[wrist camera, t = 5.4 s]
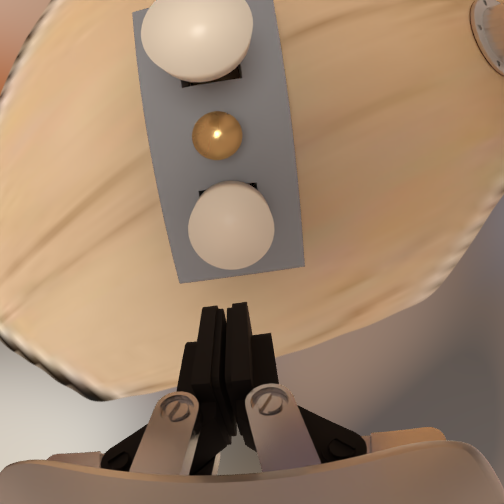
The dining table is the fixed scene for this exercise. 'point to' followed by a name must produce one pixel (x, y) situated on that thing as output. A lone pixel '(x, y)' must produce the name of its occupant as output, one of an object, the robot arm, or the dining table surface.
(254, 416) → the robot arm
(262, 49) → the mount
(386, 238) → the dining table surface
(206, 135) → the brass ball
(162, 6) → the ivory knob
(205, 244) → the ivory knob
